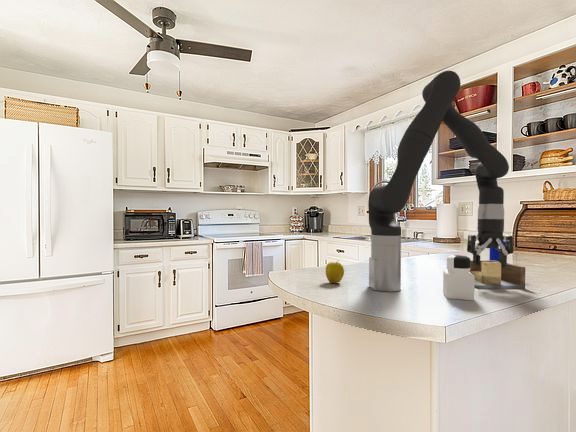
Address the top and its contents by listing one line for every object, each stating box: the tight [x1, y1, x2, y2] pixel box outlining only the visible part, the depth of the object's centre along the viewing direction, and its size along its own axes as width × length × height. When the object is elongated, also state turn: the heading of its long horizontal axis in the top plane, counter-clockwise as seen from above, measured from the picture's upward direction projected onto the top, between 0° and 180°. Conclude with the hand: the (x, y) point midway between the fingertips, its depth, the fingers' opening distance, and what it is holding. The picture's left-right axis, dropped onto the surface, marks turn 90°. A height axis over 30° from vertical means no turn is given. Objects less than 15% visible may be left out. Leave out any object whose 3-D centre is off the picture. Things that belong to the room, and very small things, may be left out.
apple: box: [325, 260, 345, 284], centre depth 110 cm, size 6×6×8 cm
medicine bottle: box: [442, 254, 475, 301], centre depth 93 cm, size 7×7×12 cm
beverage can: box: [488, 241, 505, 261], centre depth 126 cm, size 5×5×15 cm
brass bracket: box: [469, 262, 501, 284], centre depth 111 cm, size 10×5×7 cm, turn 2°
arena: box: [470, 259, 526, 290], centre depth 112 cm, size 16×15×7 cm
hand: (489, 266), depth 107 cm, fingers open, 8 cm apart
